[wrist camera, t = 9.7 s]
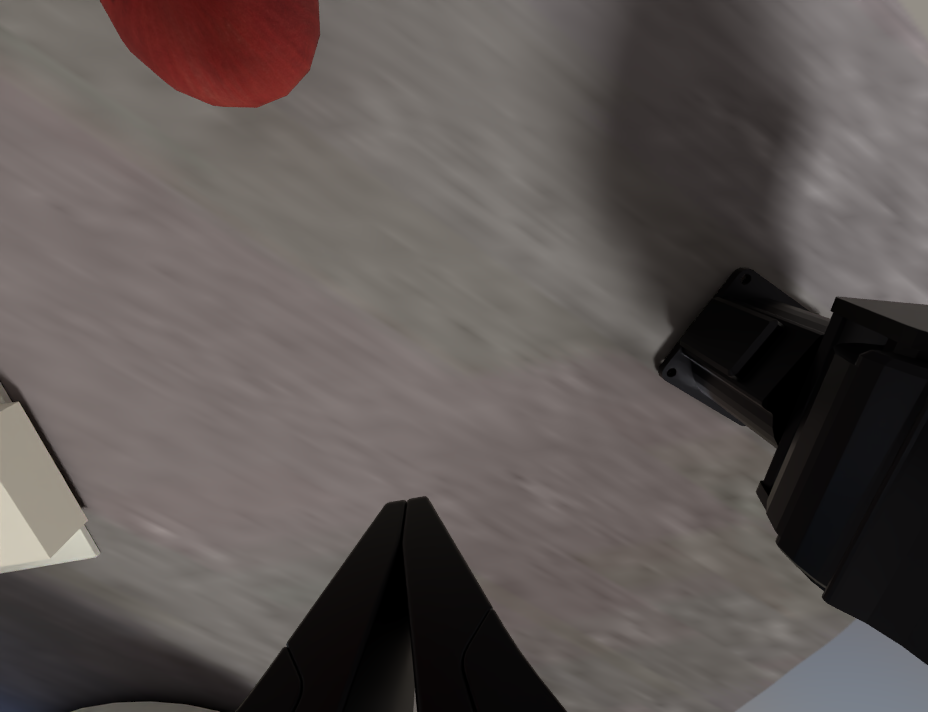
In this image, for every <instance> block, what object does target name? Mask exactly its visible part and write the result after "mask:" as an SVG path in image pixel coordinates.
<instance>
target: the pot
mask: <svg viewBox="0 0 928 712" xmlns="http://www.w3.org/2000/svg"><path fill="white" fill-rule="evenodd" d="M71 712H219V711H215V710H210V709H206V708H201V707H196V706H191V705H186V704H175V703H163V702H152V701H149V702H120V703H110V704H104V705H98V706H92V707H86V708H81V709H77V710H74V711H71Z"/></svg>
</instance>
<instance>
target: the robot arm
mask: <svg viewBox="0 0 928 712" xmlns="http://www.w3.org/2000/svg"><path fill="white" fill-rule="evenodd" d="M744 275H746V278H745V280H744V281H743V282H741V278H742V277H743V276H744ZM830 311H832V312H833V315H832V317H831V319H829V318H826V317H823V316H820V315H817V314H815V313H812V312H810V311H808V310H807V309H805V308H804V307H803V306H801V305H800V304H799V303H797V302H796V301H795V300H793V299H792V298H790V297H789V296H788V295H786V294H785V293H784V292H782V291H781V290H780V289H778V288H777V287H775V286H774V285H773V284H771V283H770V282H769V281H767V280H766V279H764V278H763V277H762V276H760V275H759V274H758V273H756V272H755V271H754V270H751V269H748V268H739V269H737V270H735V271H734V272H733V273H732V275H731V276H730V277H729V279H728V280H727V281H726V282H725V284H724V285H723V286H722V287H721V289H720V290H719V291H718V293H717V294H716V295H715V296H714V298H713V299H711V300H710V302H709V303H708V304H707V306H706V307H705V308H704V309H703V311H702V312H701V313H700V314H699V316H698V317H697V318H696V320H695V321H694V322H693V323H692V325H691V326H690V327H689V329H688V330H687V331H686V332H685V334H684V335H683V336H682V337H681V339H680V341H679V342H678V344H677V345H676V346H675V347H674V349H673V350H672V351H671V352H670V354H669V355H668V356H667V358H666V359H665V360H664V361H663V363H662V364H661V365H660V367H659V370H658V373H659V375H660V376H661V377H662V378H663V379H664V380H665V381H667V382H669V383H670V384H672V385H674V386H675V387H677V388H679V389H680V390H682V391H684V392H685V393H687V394H689V395H690V396H692V397H694V398H696V399H697V400H699V401H701V402H702V403H704V404H706V405H707V406H709V407H711V408H712V409H714V410H716V411H717V412H719V413H721V414H722V415H724V416H726V417H727V418H729V419H731V420H732V421H734V422H736V423H737V424H739V425H741V426H747V427H749V428H750V429H751V430H753V431H754V432H755V433H757V434H758V435H759V436H761V437H762V438H763V439H765V440H766V441H767V442H769V443H770V444H771V445H773V446H774V447H775V448H776V449H777V450H776V452H775V454H774V457H773V459H772V462H771V464H770V467H769V469H768V471H767V474H766V476H765V479H764V480H763V481H760V483H759V486H758V488H757V490H756V493H757V495H758V497H759V499H760V501H761V502H762V504H763V506H764V508H765V510H766V514H767V516H768V518H769V520H770V522H771V524H772V526H773V528H774V530H775V531H776V533H777V534H778V536H777V538H776V544H777V545H778V547H779V548H780V550H781V551H782V552H783V553H784V554H785V555H786V556H787V557H788V558H789V559H790V560H791V561H792V562H793V563H794V564H795V565H796V566H797V567H798V568H799V569H800V570H801V571H802V572H803V573H804V574H805V575H806V576H807V577H808V578H809V579H810V580H811V581H812V582H813V583H814V584H816V585H817V586H818V587H819V588H821V589H822V590H823V591H824V593H823V595H822V598H823V600H824V601H825V602H826V603H828V604H829V605H831V606H833V607H835V608H837V609H839V610H841V611H843V612H845V613H847V614H849V615H851V616H853V617H855V618H857V619H859V620H861V621H863V622H865V623H867V624H869V625H870V626H871V627H873V628H875V629H876V630H878V631H879V632H881V633H882V634H884V635H886V636H887V637H889V638H891V639H892V640H893V641H895V642H897V643H898V644H900V645H902V646H903V647H904V648H906V649H907V650H908V651H909V652H911V653H912V654H913V655H915V656H916V657H917V658H919V659H920V660H921V661H923V662H924V663H926V664H927V665H928V305H923V304H912V303H901V302H890V301H879V300H868V299H858V298H847V297H836V298H835V301H834V303H833V306H832V308H831V310H830ZM671 368H672V371H671V373H669V374H667V371H668V370H669V369H671ZM286 645H287V647H284V648H283V649H282V650H281V651H280V653H279V654H278V656H277V657H276V658H275V660H274V661H273V663H272V664H271V665H270V667H269V668H268V669H267V671H266V672H265V674H264V675H263V676H262V678H261V679H260V680H259V682H258V683H257V684H256V686H255V687H254V688H253V690H252V691H251V692H250V694H249V695H248V696H247V698H246V699H245V700H244V702H243V703H242V704H241V705H240V707H239V708H238V709H237V710H236V711H235V712H413V706H414V691H415V694H416V704H417V712H567V711H566V710H565V709H564V707H563V706H562V705H561V704H560V702H559V701H558V700H557V699H556V697H555V696H554V695H553V694H552V692H551V691H550V690H549V689H548V687H547V686H546V685H545V684H544V682H543V681H542V680H541V679H540V677H539V676H538V675H537V673H536V672H535V671H534V669H533V668H532V667H531V665H530V664H529V662H528V661H527V660H526V658H525V657H524V656H523V654H522V653H521V652H520V650H519V649H518V647H517V646H516V644H515V643H514V641H513V639H512V638H511V636H510V635H509V633H508V632H507V630H506V629H505V627H504V625H503V624H502V622H501V620H500V619H499V617H498V615H497V614H496V612H495V610H493V608H492V606H491V604H490V602H489V600H488V599H487V597H486V595H485V594H484V592H483V590H482V589H481V587H480V585H479V583H478V582H477V580H476V578H475V577H474V575H473V573H472V572H471V570H470V568H469V567H468V565H467V563H466V561H465V560H464V558H463V556H462V555H461V553H460V551H459V550H458V548H457V546H456V544H455V543H454V541H453V539H452V538H451V536H450V534H449V533H448V531H447V529H446V528H445V526H444V524H443V522H442V521H441V519H440V517H439V516H438V514H437V512H436V511H435V509H434V507H433V505H432V504H431V502H430V500H429V499H428V498H427V497H426V496H423V497H417V498H411V499H409V500H408V501H407V502H406V501H405V500H400V501H394V502H389V503H387V504H385V506H384V507H383V508H382V510H381V511H380V513H379V514H378V515H377V517H376V518H375V520H374V521H373V522H372V524H371V525H370V527H369V528H368V529H367V531H366V532H365V534H364V535H363V536H362V538H361V539H360V541H359V542H358V543H357V545H356V546H355V548H354V549H353V550H352V552H351V553H350V555H349V556H348V558H347V559H346V560H345V562H344V563H343V565H342V566H341V567H340V569H339V570H338V572H337V573H336V574H335V576H334V577H333V579H332V580H331V581H330V583H329V584H328V586H327V587H326V588H325V590H324V591H323V593H322V594H321V595H320V597H319V598H318V600H317V601H316V602H315V604H314V605H313V607H312V608H311V609H310V611H309V612H308V614H307V615H306V617H305V618H304V619H303V621H302V622H301V624H300V625H299V626H298V628H297V629H296V631H295V632H294V633H293V635H292V636H291V638H290V639H289V640H288V642H287V644H286Z"/></svg>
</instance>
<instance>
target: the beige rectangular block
mask: <svg viewBox="0 0 928 712" xmlns="http://www.w3.org/2000/svg"><path fill="white" fill-rule="evenodd" d="M87 521H88V520H87V518H86V516H85V515H84V513H83V511H82V509H81V508H80V506H79V504H78V503H77V501H76V499H75V497H74V496H73V494H72V492H71V490H70V489H69V487H68V485H67V484H66V482H65V480H64V478H63V477H62V475H61V473H60V472H59V470H58V468H57V466H56V465H55V463H54V461H53V459H52V458H51V456H50V454H49V453H48V451H47V449H46V447H45V446H44V444H43V442H42V440H41V439H40V437H39V435H38V434H37V432H36V430H35V428H34V427H33V425H32V423H31V422H30V420H29V418H28V416H27V415H26V413H25V411H24V409H23V408H22V406H21V404H20V403H19V401H18V402H12V403H6V404H0V567H3V566H9V565H15V564H21V563H27V562H33V561H39V560H45V559H50V558H51V557H52V556H53V555H54V554H55V553H56V552H57V551H58V550H59V549H60V548H61V547H62V546H63V545H64V544H65V543H66V542H67V541H68V540H69V539H70V538H71V537H72V536H73V535H74V534H75V533H76V532H77V531H78V530H79V529H80V528H81V527H82V526H83V525H84V524H85V523H86V522H87Z"/></svg>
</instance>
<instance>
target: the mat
mask: <svg viewBox="0 0 928 712" xmlns="http://www.w3.org/2000/svg"><path fill="white" fill-rule="evenodd" d="M6 403H12V401H11V400H10V398H9V396H8V394H7V393H6V391H5V389H4V388H3V386H2V384H1V382H0V404H6ZM99 554H100V551H99V549H98V547H97V546H96V544H95V542H94V541H93V539H92V537H91V536H90V534H89V532H88V530H87V529H86V527H85V525H83V526H82V527H81V528H80V529H79V530H78V531H77V532H76V533H75V534H74V535H73V536H72V537H71V538H70V539H69V540H68V541H67V542H66V543H65V544H64V545H63V546H62V547H61V548H60V549H59V550H58V551H57V552H56V553H55V554H54V555H53V556H52V557H51V558H50V559H45V560H39V561H33V562H27V563H21V564H15V565H9V566H3V567H0V573H6V572H12V571H18V570H24V569H30V568H36V567H41V566H47V565H53V564H59V563H65V562H71V561H77V560H83V559H89V558H94V557H97V556H98V555H99Z"/></svg>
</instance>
